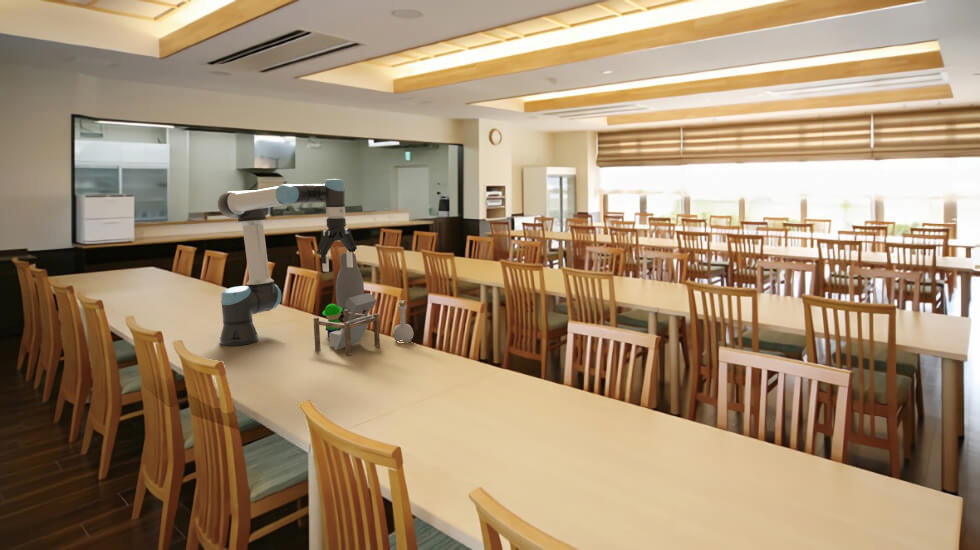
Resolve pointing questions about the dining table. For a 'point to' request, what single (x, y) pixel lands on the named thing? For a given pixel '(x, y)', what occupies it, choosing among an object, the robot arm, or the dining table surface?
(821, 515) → the dining table surface
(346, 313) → the frame
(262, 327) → the dining table surface
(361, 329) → the grey faceted block
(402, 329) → the potion bottle
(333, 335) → the stone
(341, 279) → the vase
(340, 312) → the toy
